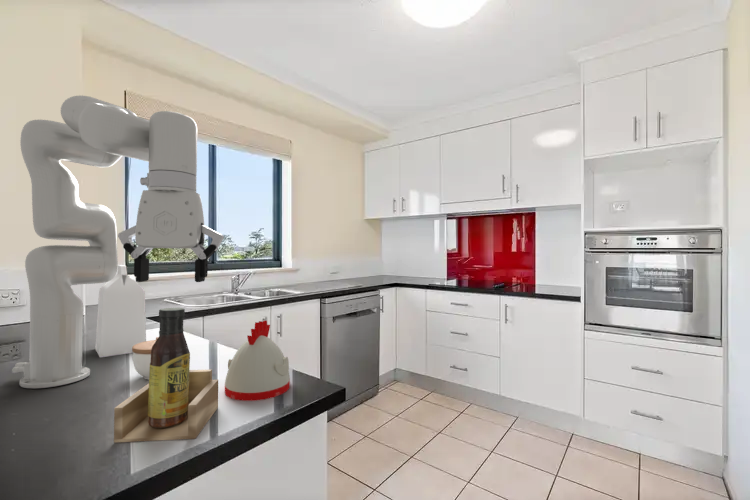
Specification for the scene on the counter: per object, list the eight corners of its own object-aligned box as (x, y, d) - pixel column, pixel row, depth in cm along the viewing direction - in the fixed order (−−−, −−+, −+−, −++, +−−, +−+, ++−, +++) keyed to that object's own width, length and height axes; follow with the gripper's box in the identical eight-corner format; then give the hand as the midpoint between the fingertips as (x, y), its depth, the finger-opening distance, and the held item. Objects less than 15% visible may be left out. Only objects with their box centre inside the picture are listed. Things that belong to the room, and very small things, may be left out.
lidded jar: (190, 369, 96) (191, 333, 96) (166, 383, 85) (167, 343, 86) (149, 368, 96) (150, 332, 96) (120, 382, 86) (121, 342, 86)
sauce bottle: (170, 432, 62) (172, 312, 62) (138, 428, 63) (140, 311, 63) (196, 415, 68) (198, 307, 68) (167, 412, 69) (168, 305, 69)
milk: (95, 349, 115) (96, 265, 115) (138, 343, 122) (139, 264, 123) (99, 357, 106) (101, 266, 106) (146, 350, 114) (147, 265, 114)
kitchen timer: (299, 381, 88) (300, 318, 88) (270, 404, 75) (271, 329, 75) (247, 376, 91) (248, 315, 92) (210, 397, 78) (211, 325, 78)
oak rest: (113, 442, 59) (114, 395, 59) (150, 410, 71) (151, 371, 71) (195, 438, 61) (196, 392, 61) (217, 407, 73) (218, 369, 73)
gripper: (107, 179, 61) (106, 283, 61) (217, 183, 63) (215, 283, 63) (132, 187, 68) (130, 279, 68) (229, 190, 71) (227, 280, 70)
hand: (171, 281), depth 66 cm, fingers open, 9 cm apart
